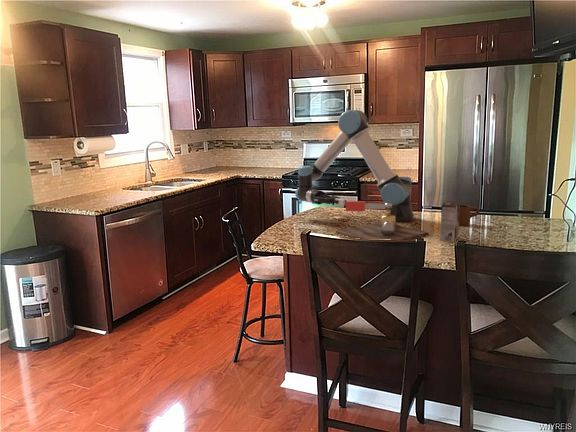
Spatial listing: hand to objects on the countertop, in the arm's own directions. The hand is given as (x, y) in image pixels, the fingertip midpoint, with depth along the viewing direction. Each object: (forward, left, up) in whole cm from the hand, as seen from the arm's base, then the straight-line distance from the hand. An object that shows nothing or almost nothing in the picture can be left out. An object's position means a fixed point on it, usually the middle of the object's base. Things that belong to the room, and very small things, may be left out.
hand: (343, 202), depth 229 cm
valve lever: (-5, +13, -3) cm, 14 cm away
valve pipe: (-11, +20, -13) cm, 26 cm away
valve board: (-7, +20, -13) cm, 25 cm away
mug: (-53, +32, -14) cm, 63 cm away
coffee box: (-24, +45, -14) cm, 52 cm away
